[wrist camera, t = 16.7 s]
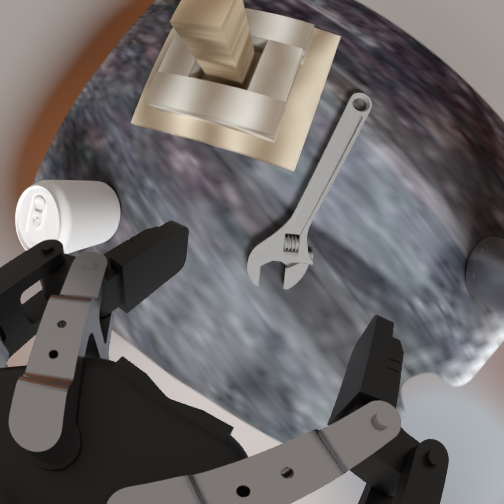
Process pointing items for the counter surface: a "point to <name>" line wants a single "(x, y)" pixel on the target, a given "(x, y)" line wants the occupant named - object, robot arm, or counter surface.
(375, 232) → the counter surface
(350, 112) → the adjustable wrench
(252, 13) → the wooden socket base
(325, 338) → the counter surface
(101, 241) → the beverage can
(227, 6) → the tan long rectangular block
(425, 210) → the counter surface
